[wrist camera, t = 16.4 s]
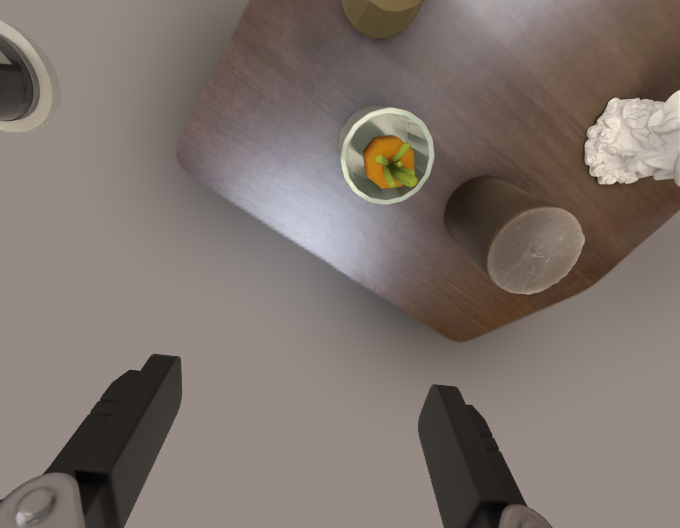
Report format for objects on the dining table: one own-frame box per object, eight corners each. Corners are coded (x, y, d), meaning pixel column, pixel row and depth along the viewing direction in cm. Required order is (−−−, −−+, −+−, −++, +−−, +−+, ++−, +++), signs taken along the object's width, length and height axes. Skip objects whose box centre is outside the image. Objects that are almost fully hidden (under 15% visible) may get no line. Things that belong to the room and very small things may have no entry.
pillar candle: (435, 194, 45) (481, 236, 32) (508, 163, 44) (589, 193, 30) (455, 255, 49) (503, 315, 36) (522, 228, 48) (599, 280, 34)
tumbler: (332, 175, 44) (334, 196, 35) (345, 98, 40) (350, 99, 31) (401, 187, 45) (419, 210, 36) (419, 113, 41) (445, 118, 32)
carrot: (348, 141, 41) (359, 163, 28) (385, 119, 41) (414, 131, 27) (367, 177, 43) (386, 214, 30) (403, 156, 42) (438, 185, 29)
